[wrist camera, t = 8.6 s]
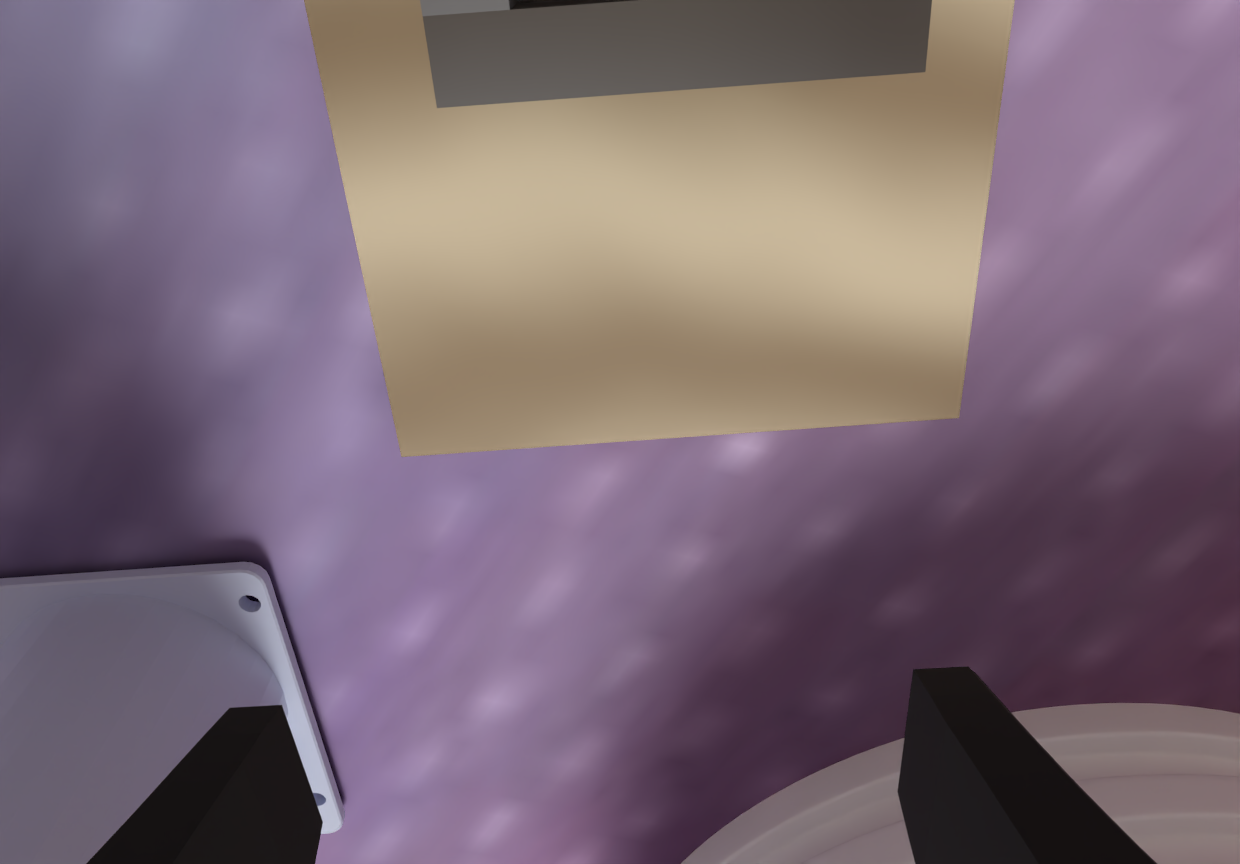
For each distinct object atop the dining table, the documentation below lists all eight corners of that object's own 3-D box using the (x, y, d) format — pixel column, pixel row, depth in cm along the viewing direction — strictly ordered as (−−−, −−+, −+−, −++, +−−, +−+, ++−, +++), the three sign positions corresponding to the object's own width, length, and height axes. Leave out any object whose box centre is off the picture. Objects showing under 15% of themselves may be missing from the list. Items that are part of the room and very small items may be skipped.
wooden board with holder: (943, 397, 20) (1021, 499, 16) (410, 434, 20) (368, 544, 16) (1056, -539, 13) (1243, -731, 9) (224, -472, 13) (76, -637, 9)
